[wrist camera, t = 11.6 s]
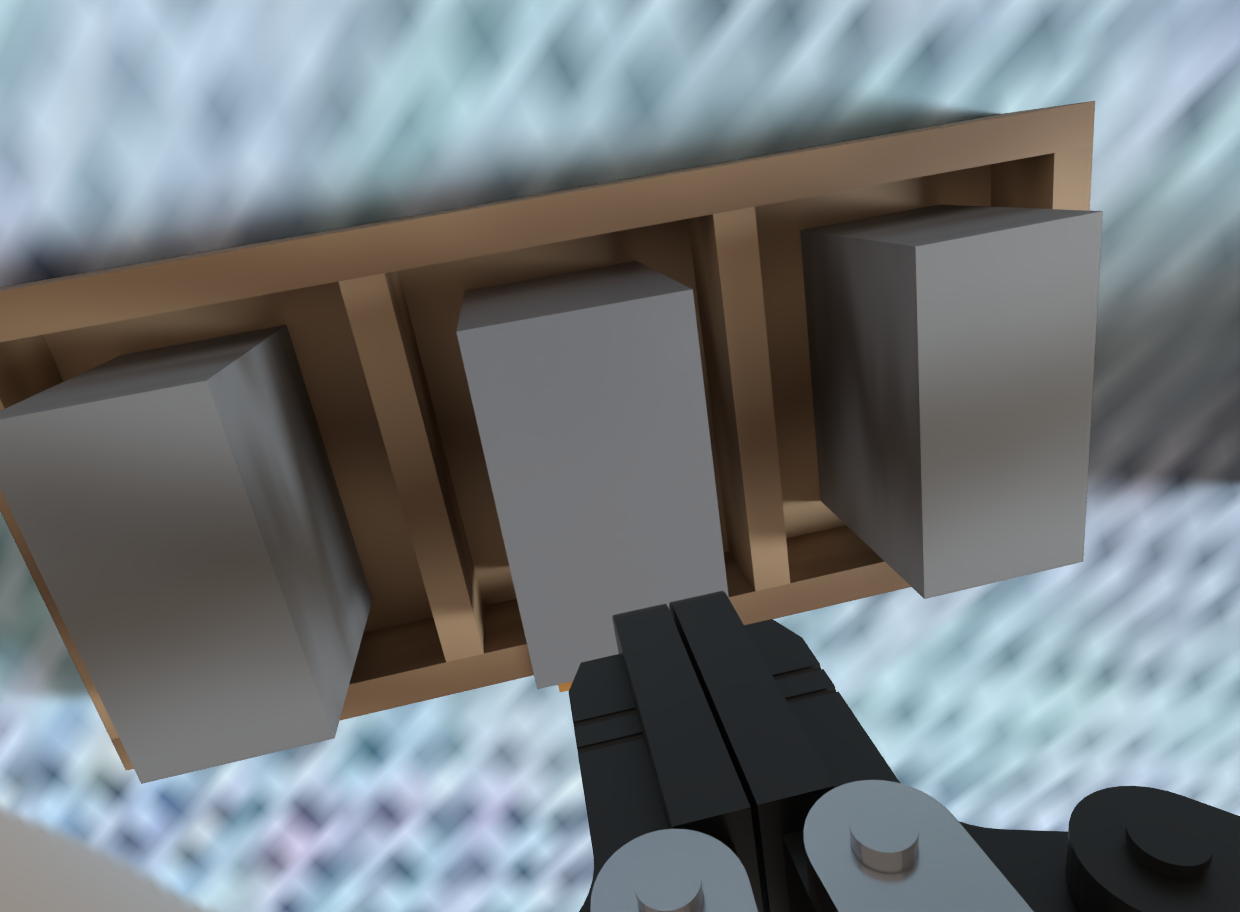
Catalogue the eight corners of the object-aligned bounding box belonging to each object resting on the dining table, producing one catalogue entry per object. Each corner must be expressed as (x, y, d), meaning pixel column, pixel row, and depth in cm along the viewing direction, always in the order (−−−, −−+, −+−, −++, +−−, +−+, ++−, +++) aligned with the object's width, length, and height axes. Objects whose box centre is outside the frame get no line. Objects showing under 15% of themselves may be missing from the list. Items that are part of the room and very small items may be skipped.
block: (464, 290, 20) (456, 331, 14) (636, 260, 20) (692, 289, 15) (524, 565, 23) (537, 689, 17) (674, 533, 23) (734, 644, 18)
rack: (2, 286, 19) (-249, 339, 13) (1003, 113, 22) (1226, 82, 15) (179, 696, 23) (61, 894, 17) (998, 511, 26) (1170, 620, 19)
